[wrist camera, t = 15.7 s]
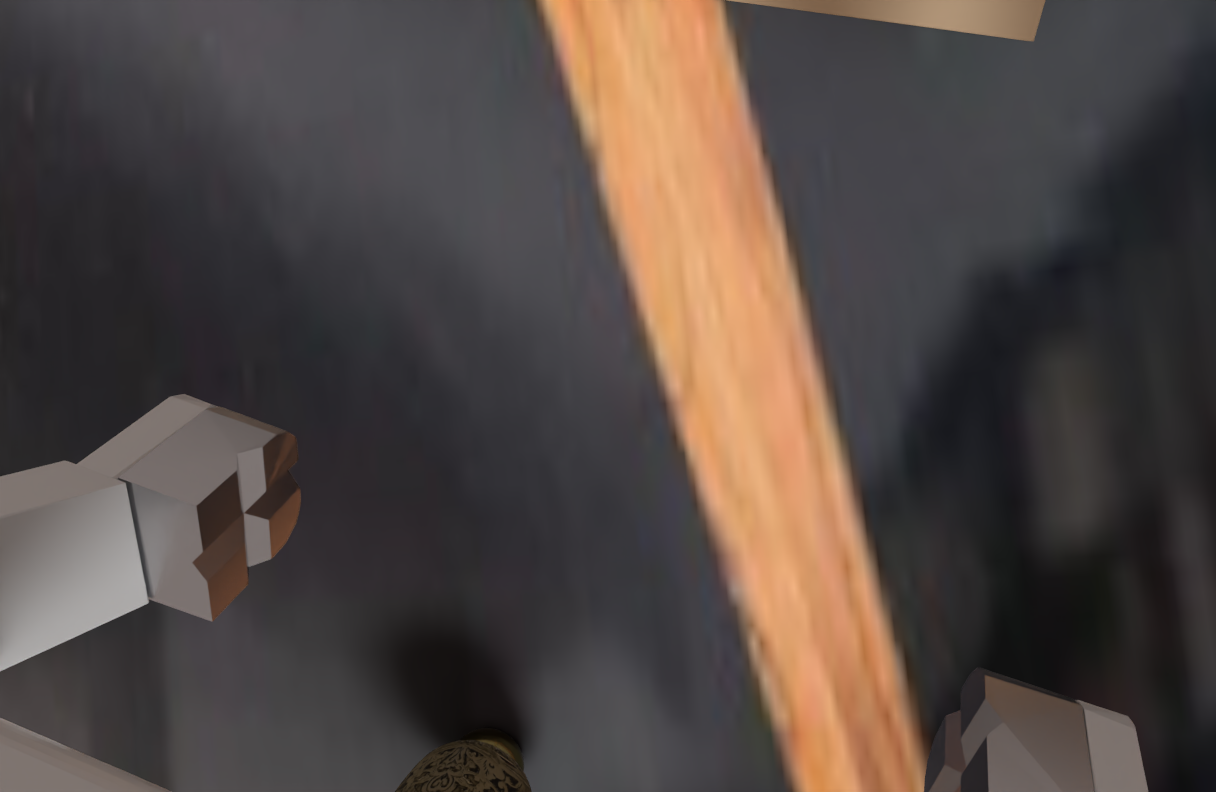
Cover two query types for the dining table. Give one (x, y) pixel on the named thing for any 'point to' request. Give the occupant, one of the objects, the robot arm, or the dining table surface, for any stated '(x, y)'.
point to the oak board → (934, 13)
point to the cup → (471, 766)
